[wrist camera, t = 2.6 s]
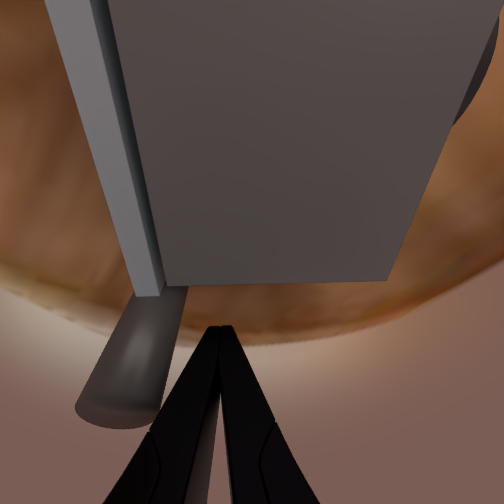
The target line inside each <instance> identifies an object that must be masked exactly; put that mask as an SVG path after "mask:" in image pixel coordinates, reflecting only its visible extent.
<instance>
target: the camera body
mask: <svg viewBox="0 0 504 504" xmlns="http://www.w3.org/2000/svg"><path fill="white" fill-rule="evenodd" d="M108 4H109V9H110V14H111V19H112V24H113V28H114V33H115V38H116V43H117V48H118V52H119V57H120V62H121V67H122V72H123V76H124V81H125V86H126V91H127V96H128V100H129V105H130V110H131V115H132V119H133V124H134V129H135V134H136V139H137V143H138V148H139V153H140V158H141V163H142V167H143V172H144V177H145V182H146V187H147V191H148V196H149V201H150V206H151V211H152V215H153V220H154V225H155V230H156V234H157V239H158V244H159V249H160V254H161V258H162V263H163V268H164V273H165V278H166V282H167V286H199V285H240V284H281V283H323V282H364V281H387V278H388V276H389V274H390V271H391V269H392V266H393V264H394V262H395V259H396V257H397V255H398V252H399V250H400V248H401V245H402V243H403V240H404V238H405V236H406V233H407V231H408V229H409V226H410V224H411V222H412V219H413V217H414V214H415V212H416V210H417V207H418V205H419V203H420V200H421V198H422V196H423V193H424V191H425V188H426V186H427V184H428V181H429V179H430V177H431V174H432V172H433V170H434V167H435V165H436V162H437V160H438V158H439V155H440V153H441V151H442V148H443V146H444V144H445V141H446V139H447V136H448V134H449V132H450V129H451V127H452V126H453V125H454V124H455V123H456V122H457V120H458V119H459V118H460V117H461V115H462V114H463V113H464V111H465V110H466V108H467V107H468V105H469V104H470V103H471V101H472V99H473V98H474V96H475V94H476V92H477V91H478V89H479V87H480V85H481V83H482V81H483V79H484V77H485V75H486V72H487V70H488V67H489V65H490V62H491V59H492V56H493V53H494V49H495V46H496V41H497V36H498V28H499V13H500V11H501V9H502V6H503V4H504V0H108Z"/></svg>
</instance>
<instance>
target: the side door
mask: <svg viewBox="0 0 504 504" xmlns="http://www.w3.org/2000/svg"><path fill="white" fill-rule="evenodd" d="M44 1H45V4H46V7H47V10H48V14H49V17H50V20H51V23H52V27H53V30H54V33H55V36H56V39H57V43H58V46H59V49H60V52H61V56H62V59H63V62H64V65H65V69H66V72H67V75H68V78H69V82H70V85H71V88H72V91H73V94H74V98H75V101H76V104H77V107H78V111H79V114H80V117H81V120H82V124H83V127H84V130H85V133H86V137H87V140H88V143H89V146H90V149H91V153H92V156H93V159H94V162H95V166H96V169H97V172H98V175H99V179H100V182H101V185H102V188H103V192H104V195H105V198H106V201H107V204H108V208H109V211H110V214H111V217H112V221H113V224H114V227H115V230H116V234H117V237H118V240H119V243H120V247H121V250H122V253H123V256H124V259H125V263H126V266H127V269H128V272H129V276H130V279H131V282H132V285H133V289H134V293H133V295H132V296H131V298H130V300H129V302H128V304H127V306H126V308H125V310H124V312H123V314H122V316H121V318H120V319H119V321H118V323H117V325H116V327H115V329H114V331H113V333H112V335H111V337H110V339H109V341H108V343H107V345H106V346H105V348H104V350H103V352H102V354H101V356H100V358H99V360H98V362H97V364H96V366H95V368H94V370H93V371H92V373H91V375H90V377H89V379H88V381H87V383H86V385H85V387H84V389H83V391H82V393H81V394H80V396H79V398H78V400H77V402H76V405H75V410H76V413H77V414H78V415H79V416H80V417H81V418H82V419H84V420H85V421H87V422H89V423H91V424H94V425H97V426H100V427H105V428H112V429H133V428H139V427H142V426H146V425H148V424H150V423H152V422H153V421H154V420H155V418H156V416H157V415H158V413H159V411H160V407H161V403H162V399H163V394H164V390H165V386H166V381H167V377H168V373H169V369H170V364H171V360H172V355H173V351H174V347H175V343H176V339H177V335H178V330H179V326H180V322H181V318H182V313H183V309H184V305H185V301H186V296H187V292H188V288H189V286H167V282H166V278H165V273H164V268H163V263H162V258H161V254H160V249H159V244H158V239H157V234H156V230H155V225H154V220H153V215H152V211H151V206H150V201H149V196H148V191H147V187H146V182H145V177H144V172H143V167H142V163H141V158H140V153H139V148H138V143H137V139H136V134H135V129H134V124H133V119H132V115H131V110H130V105H129V100H128V96H127V91H126V86H125V81H124V76H123V72H122V67H121V62H120V57H119V52H118V48H117V43H116V38H115V33H114V28H113V24H112V19H111V14H110V9H109V4H108V0H44Z"/></svg>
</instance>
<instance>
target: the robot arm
mask: <svg viewBox="0 0 504 504" xmlns="http://www.w3.org/2000/svg"><path fill="white" fill-rule="evenodd" d="M220 394H221V403H222V413H223V423H224V434H225V444H226V454H227V465H228V474H229V485H230V496H231V504H320V503H319V501H318V500H317V498H316V496H315V494H314V493H313V491H312V489H311V487H310V486H309V485H308V483H307V481H306V479H305V477H304V475H303V473H302V472H301V470H300V468H299V466H298V465H297V463H296V461H295V459H294V457H293V455H292V453H291V451H290V449H289V447H288V445H287V443H286V441H285V439H284V437H283V435H282V433H281V430H280V428H279V426H278V424H277V422H275V418H274V416H273V413H272V411H271V409H270V407H269V405H268V403H267V401H266V398H265V396H264V394H263V392H262V389H261V387H260V385H259V383H258V381H257V379H256V377H255V374H254V372H253V370H252V368H251V366H250V363H249V361H248V359H247V357H246V355H245V352H244V350H243V348H242V346H241V344H240V342H239V339H238V337H237V335H236V333H235V331H234V328H233V327H232V326H231V325H222V326H221V327H220V326H209V327H208V328H207V329H206V331H205V333H204V335H203V336H202V338H201V340H200V342H199V343H198V345H197V347H196V349H195V350H194V352H193V354H192V356H191V357H190V359H189V361H188V362H187V364H186V366H185V368H184V369H183V371H182V373H181V375H180V376H179V378H178V380H177V382H176V383H175V385H174V387H173V389H172V390H171V392H170V394H169V395H168V397H167V399H166V401H165V402H164V404H163V406H162V408H161V409H160V411H159V413H158V415H157V416H156V418H155V420H154V422H153V423H152V425H151V427H150V429H149V431H150V432H147V434H146V435H145V437H144V439H143V441H142V442H141V444H140V446H139V448H138V449H137V451H136V452H135V454H134V456H133V457H132V459H131V461H130V462H129V464H128V466H127V467H126V469H125V470H124V472H123V474H122V475H121V477H120V478H119V480H118V482H117V483H116V484H115V486H114V487H113V489H112V490H111V492H110V493H109V495H108V496H107V498H106V499H105V501H104V502H103V504H207V497H208V489H209V481H210V473H211V465H212V458H213V450H214V442H215V434H216V426H217V418H218V410H219V402H220Z"/></svg>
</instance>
